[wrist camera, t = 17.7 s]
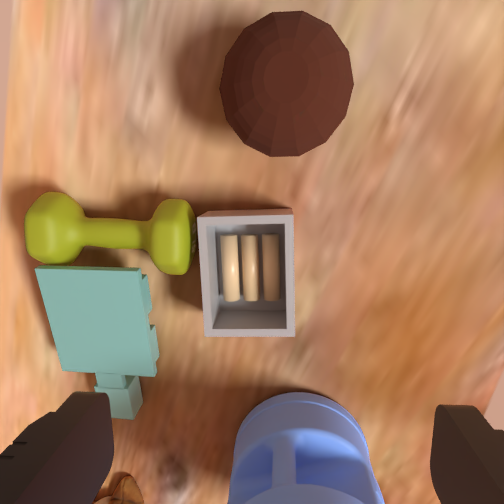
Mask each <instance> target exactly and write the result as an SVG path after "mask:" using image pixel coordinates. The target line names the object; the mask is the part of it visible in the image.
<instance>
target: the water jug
mask: <svg viewBox="0 0 504 504" xmlns="http://www.w3.org/2000/svg"><path fill="white" fill-rule="evenodd" d="M227 504H385V503H384V500H383V497H382V493H381V490H380V488H379V485H378V483H377V481H376V479H375V476H374V473H373V470H372V466H371V463H370V460H369V451H368V446H367V443H366V440H365V437H364V435H363V432H362V430H361V428H360V426H359V425H358V423H357V421H356V420H355V419H354V417H353V416H352V415H351V414H350V413H349V412H348V411H347V410H346V409H345V408H343V407H342V406H341V405H339V404H338V403H336V402H334V401H332V400H330V399H328V398H326V397H323V396H320V395H317V394H312V393H306V392H291V393H284V394H280V395H277V396H274V397H271V398H269V399H267V400H265V401H263V402H262V403H260V404H259V405H257V406H256V407H255V408H254V409H253V410H252V411H251V412H250V413H249V414H248V415H247V416H246V417H245V419H244V420H243V422H242V424H241V426H240V428H239V430H238V433H237V437H236V441H235V447H234V461H233V467H232V472H231V479H230V488H229V498H228V503H227Z"/></svg>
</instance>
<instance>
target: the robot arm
mask: <svg viewBox="0 0 504 504" xmlns="http://www.w3.org/2000/svg"><path fill="white" fill-rule="evenodd" d="M113 456H114V440H113V430H112V420H111V409H110V400H109V397H108V395H107V393H104V392H74V393H72V394H71V395H70V396H69V398H68V399H67V400H66V401H65V402H64V403H63V404H62V405H61V406H60V407H59V408H58V410H57V411H56V412H49V413H47V414H46V415H44V416H43V417H41V418H39V419H38V420H36V421H35V422H33V423H31V424H30V425H28V427H27V428H26V429H25V430H24V431H23V432H22V433H21V434H20V435H19V436H18V437H17V438H16V439H15V440H14V441H13V444H12V445H9V446H8V447H7V448H6V449H5V450H4V451H3V452H2V453H1V454H0V504H92V502H93V501H94V499H95V497H96V495H97V493H98V492H99V490H100V488H101V486H102V484H103V483H104V481H105V479H106V477H107V475H108V473H109V471H110V468H111V465H112V461H113ZM430 470H431V477H432V482H433V486H434V489H435V491H436V494H437V496H438V498H439V500H440V502H441V504H504V431H503V430H494V429H493V428H492V427H491V426H490V424H489V423H488V422H487V420H486V419H485V418H484V417H483V415H482V414H481V413H480V412H479V410H478V409H477V408H476V407H474V406H468V405H438V406H437V408H436V411H435V418H434V428H433V438H432V448H431V457H430Z"/></svg>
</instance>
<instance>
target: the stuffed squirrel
mask: <svg viewBox="0 0 504 504" xmlns="http://www.w3.org/2000/svg"><path fill="white" fill-rule="evenodd" d="M92 504H144V500H143V497H142V494H141V492H140V489H139V488H138V485H137V484H136V482H135V481H134V479H133V477H132V476H125V477H124V478H123V479H122V480H121V481H120V483H119V484H118V486H117V487H116V489H115V491H114V493H113V495H112V496H107V497H104V498H102V499H100V500H99V501H97V502H95V501H93V502H92Z"/></svg>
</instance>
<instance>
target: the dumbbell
mask: <svg viewBox="0 0 504 504" xmlns="http://www.w3.org/2000/svg"><path fill="white" fill-rule="evenodd" d="M24 233H25V244H26V249H27V252H28V253H29V255H30V256H31V257H33V258H34V259H36V260H38V261H40V262H42V263H44V264H46V265H50V266H68V265H71V264H72V263H73V262H74V261H75V260H76V258H77V257H78V255H79V254H80V252H81V251H82V249H83V247H84V246H87V245H88V246H97V247H104V248H113V249H143V250H146V251H147V252H148V253H149V254H150V257H151V259H152V261H153V263H154V264H155V266H156V267H157V268H158V269H159V270H160V271H162V272H164V273H167V274H173V275H182V274H185V273H186V272H187V271H188V270H189V268H190V266H191V264H192V261H193V257H194V254H195V250H196V243H197V224H196V218H195V215H194V212H193V210H192V208H191V206H190V205H189V203H188V202H187V201H185V200H182V199H166V200H164V201H162V202H161V203H160V204H159V206H158V207H157V209H156V210H155V212H154V214H153V217H152V219H150V220H148V221H137V220H129V219H117V218H87V217H85V213H84V210H83V209H82V207H81V206H80V205H79V204H78V203H77V202H76V201H75V200H74V199H73V198H71V197H70V196H68V195H67V194H65V193H60V192H46V193H44V194H42V195H41V196H40V197H39V198H38V199H37V200H36V201H35V202H34V203H33V204H32V206H31V207H30V208H29V209H28V211H27V212H26V215H25V219H24Z"/></svg>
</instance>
